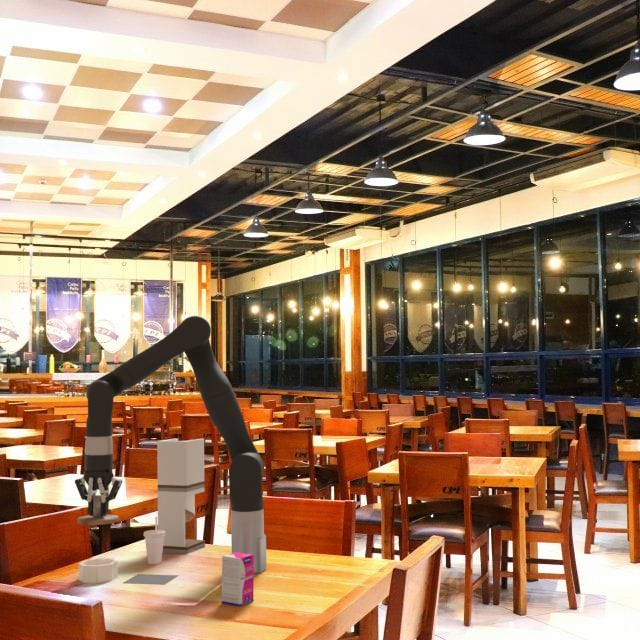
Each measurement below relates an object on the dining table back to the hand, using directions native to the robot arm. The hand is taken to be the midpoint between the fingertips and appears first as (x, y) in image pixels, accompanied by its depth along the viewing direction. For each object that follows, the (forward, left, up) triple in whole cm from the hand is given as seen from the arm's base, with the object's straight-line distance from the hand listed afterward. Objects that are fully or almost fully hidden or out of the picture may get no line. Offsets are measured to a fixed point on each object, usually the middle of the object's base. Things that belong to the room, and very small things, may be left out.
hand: (98, 515), depth 228 cm
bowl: (0, 0, -18) cm, 18 cm away
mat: (-15, -1, -18) cm, 23 cm away
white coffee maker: (-8, -42, -18) cm, 46 cm away
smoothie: (-8, -20, -18) cm, 28 cm away
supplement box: (-45, +16, -18) cm, 51 cm away
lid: (0, 0, -2) cm, 2 cm away
